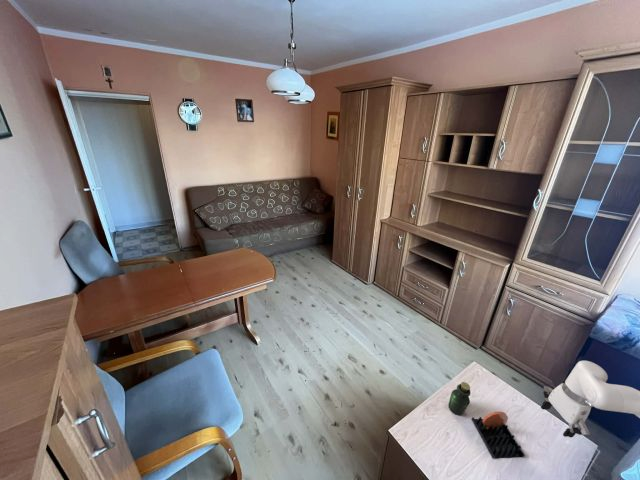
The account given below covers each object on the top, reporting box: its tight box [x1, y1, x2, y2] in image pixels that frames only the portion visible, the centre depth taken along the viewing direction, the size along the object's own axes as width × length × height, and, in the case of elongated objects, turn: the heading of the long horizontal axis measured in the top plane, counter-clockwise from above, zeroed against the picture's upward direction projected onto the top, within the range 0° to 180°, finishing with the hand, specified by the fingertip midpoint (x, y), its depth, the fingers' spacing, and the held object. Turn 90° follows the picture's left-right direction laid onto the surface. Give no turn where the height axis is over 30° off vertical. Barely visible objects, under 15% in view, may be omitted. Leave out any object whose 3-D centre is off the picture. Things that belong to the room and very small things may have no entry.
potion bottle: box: [447, 381, 471, 417], centre depth 126 cm, size 8×8×18 cm
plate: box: [482, 411, 509, 429], centre depth 120 cm, size 1×11×12 cm, turn 93°
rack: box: [471, 416, 526, 460], centre depth 118 cm, size 16×14×5 cm
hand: (555, 421), depth 99 cm, fingers open, 9 cm apart
